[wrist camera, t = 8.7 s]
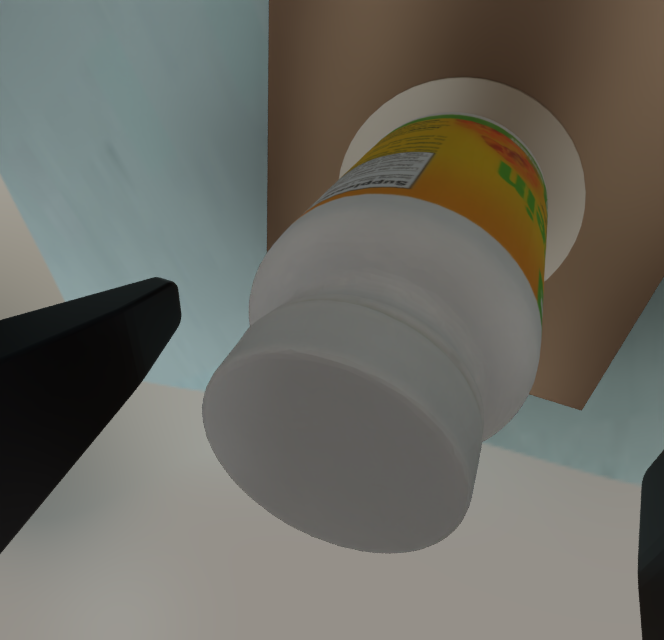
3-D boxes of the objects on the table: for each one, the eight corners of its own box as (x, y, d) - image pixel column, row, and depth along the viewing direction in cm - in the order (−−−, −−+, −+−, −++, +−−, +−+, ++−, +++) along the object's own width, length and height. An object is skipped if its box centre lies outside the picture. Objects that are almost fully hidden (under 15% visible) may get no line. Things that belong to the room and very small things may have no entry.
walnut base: (296, 275, 22) (264, 314, 19) (315, -69, 14) (265, -75, 12) (578, 356, 19) (581, 414, 16) (783, -15, 11) (844, -10, 9)
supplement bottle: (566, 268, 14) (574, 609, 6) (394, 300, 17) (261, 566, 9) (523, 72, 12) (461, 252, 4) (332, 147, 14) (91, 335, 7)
